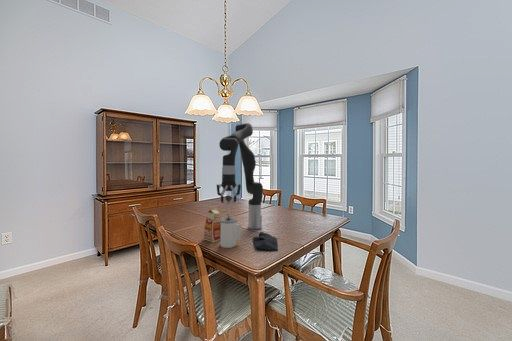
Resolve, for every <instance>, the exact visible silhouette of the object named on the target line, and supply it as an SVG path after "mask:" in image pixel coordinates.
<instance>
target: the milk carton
mask: <svg viewBox="0 0 512 341" xmlns="http://www.w3.org/2000/svg"><path fill="white" fill-rule="evenodd" d="M206 215H207V216H206V218H205V224H204V230H203V237H202V240H204V241H206V240H207V241H206V242H209V241H210V243H216V242H218V241H219V242H220V219H221V214H220V212H219V211H218V208H211V207H210V208H209V210H208V212H207V214H206Z"/></svg>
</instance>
